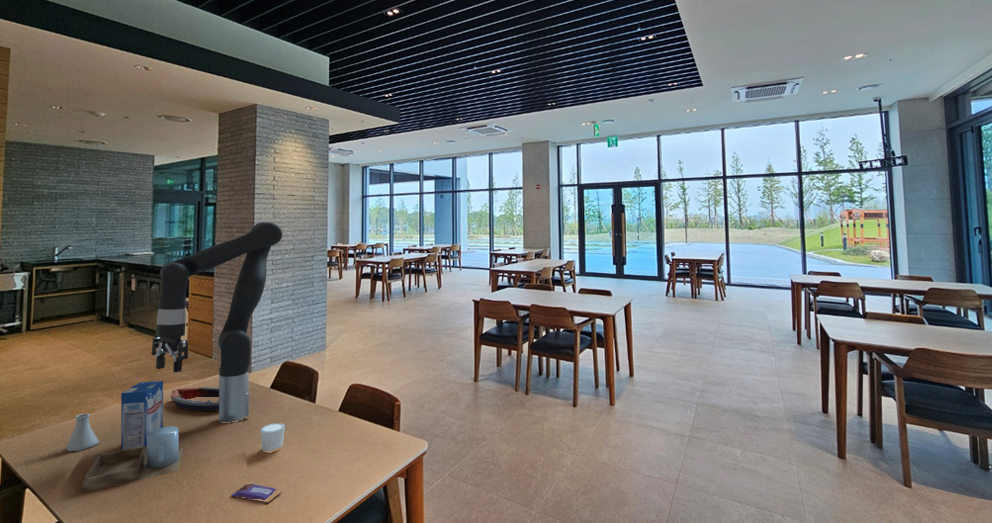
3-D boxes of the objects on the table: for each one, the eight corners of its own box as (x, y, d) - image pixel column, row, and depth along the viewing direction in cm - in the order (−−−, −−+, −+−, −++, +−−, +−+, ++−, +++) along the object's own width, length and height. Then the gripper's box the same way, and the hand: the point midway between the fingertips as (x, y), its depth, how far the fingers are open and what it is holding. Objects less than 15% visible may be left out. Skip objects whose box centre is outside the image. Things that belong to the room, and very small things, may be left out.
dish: (211, 418, 149) (211, 405, 148) (156, 405, 158) (156, 393, 158) (249, 403, 163) (249, 391, 163) (196, 392, 173) (196, 381, 173)
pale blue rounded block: (179, 453, 120) (179, 424, 120) (176, 466, 113) (176, 435, 113) (149, 460, 116) (149, 429, 116) (144, 473, 109) (144, 441, 109)
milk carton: (146, 456, 121) (146, 391, 120) (121, 458, 119) (121, 393, 119) (163, 440, 131) (163, 380, 130) (140, 443, 129) (140, 382, 128)
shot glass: (289, 446, 129) (289, 425, 129) (269, 456, 123) (269, 434, 123) (275, 441, 132) (275, 421, 132) (255, 451, 126) (255, 429, 125)
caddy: (182, 452, 124) (182, 438, 124) (177, 475, 111) (178, 460, 111) (98, 470, 113) (98, 454, 113) (82, 498, 101) (82, 480, 100)
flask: (77, 453, 122) (77, 421, 121) (59, 450, 123) (59, 418, 123) (105, 442, 129) (104, 412, 128) (87, 439, 130) (87, 409, 130)
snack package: (282, 487, 105) (267, 499, 100) (282, 494, 105) (267, 507, 100) (246, 480, 108) (230, 491, 103) (246, 487, 108) (230, 499, 103)
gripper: (197, 322, 135) (195, 370, 134) (169, 318, 139) (166, 365, 139) (173, 325, 127) (170, 376, 127) (144, 321, 132) (141, 370, 132)
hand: (168, 370), depth 133 cm, fingers open, 8 cm apart
